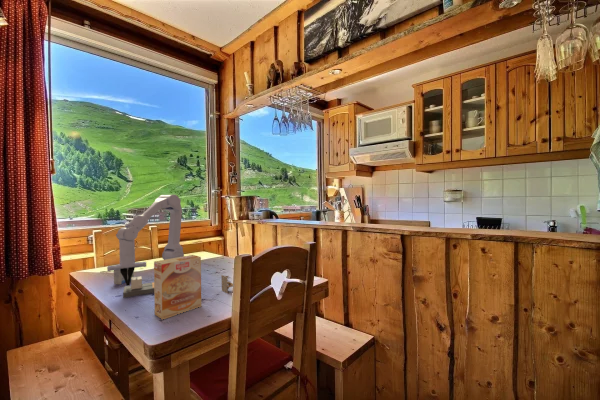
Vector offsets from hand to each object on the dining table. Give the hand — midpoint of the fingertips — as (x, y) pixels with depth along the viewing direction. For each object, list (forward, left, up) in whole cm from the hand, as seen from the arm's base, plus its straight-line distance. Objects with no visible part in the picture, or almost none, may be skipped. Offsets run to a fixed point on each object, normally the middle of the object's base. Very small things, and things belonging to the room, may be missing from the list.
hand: (127, 284), depth 120 cm
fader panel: (-6, 0, -4) cm, 7 cm away
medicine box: (+3, -21, -4) cm, 22 cm away
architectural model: (-38, +21, -4) cm, 44 cm away
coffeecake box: (-17, +32, -4) cm, 37 cm away
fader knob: (-3, 0, -2) cm, 4 cm away
